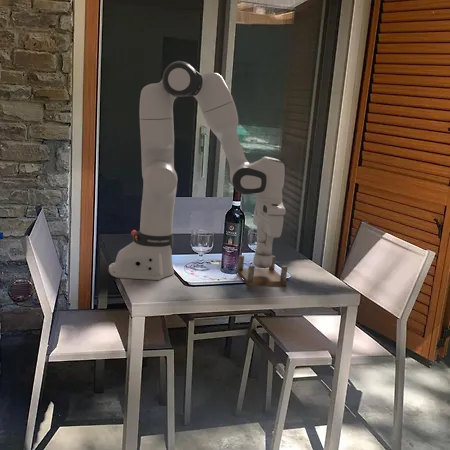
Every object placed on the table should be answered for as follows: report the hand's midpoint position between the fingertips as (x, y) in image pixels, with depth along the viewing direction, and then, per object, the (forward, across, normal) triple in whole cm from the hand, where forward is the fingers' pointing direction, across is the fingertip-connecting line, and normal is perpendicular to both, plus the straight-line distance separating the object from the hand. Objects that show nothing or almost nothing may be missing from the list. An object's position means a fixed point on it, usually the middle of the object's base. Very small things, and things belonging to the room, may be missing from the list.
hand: (264, 243), depth 200 cm
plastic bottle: (+9, 0, 0) cm, 9 cm away
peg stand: (+13, 0, 0) cm, 13 cm away
